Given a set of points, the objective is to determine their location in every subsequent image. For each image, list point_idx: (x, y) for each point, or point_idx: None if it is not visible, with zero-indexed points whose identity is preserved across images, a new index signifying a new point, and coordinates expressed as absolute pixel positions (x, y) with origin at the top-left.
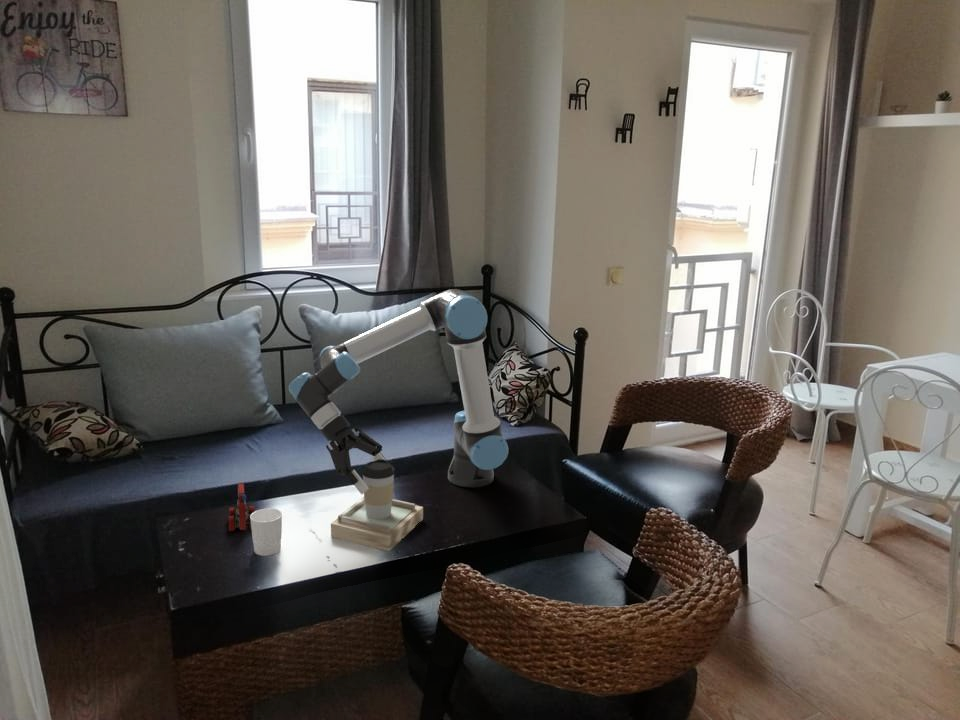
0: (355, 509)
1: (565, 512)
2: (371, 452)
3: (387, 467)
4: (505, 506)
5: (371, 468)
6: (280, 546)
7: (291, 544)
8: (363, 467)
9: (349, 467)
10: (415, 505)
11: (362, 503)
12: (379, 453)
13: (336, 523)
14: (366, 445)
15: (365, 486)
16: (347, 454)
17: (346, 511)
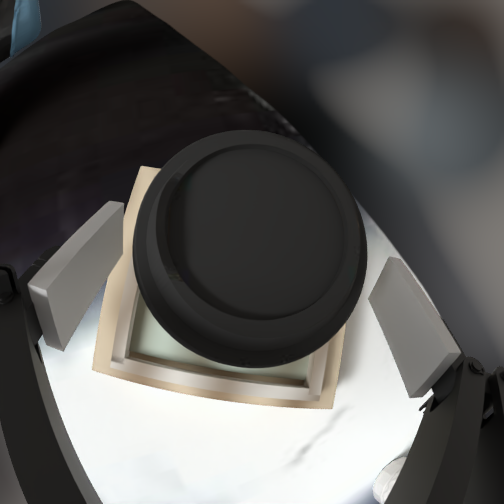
0: (225, 377)
1: (106, 9)
2: (41, 364)
3: (284, 146)
4: (77, 63)
5: (347, 257)
6: (397, 462)
7: (369, 457)
8: (272, 361)
9: (474, 378)
10: (134, 189)
11: (176, 368)
12: (41, 282)
13: (328, 393)
14: (46, 429)
15: (408, 270)
16: (455, 475)
17: (278, 391)
